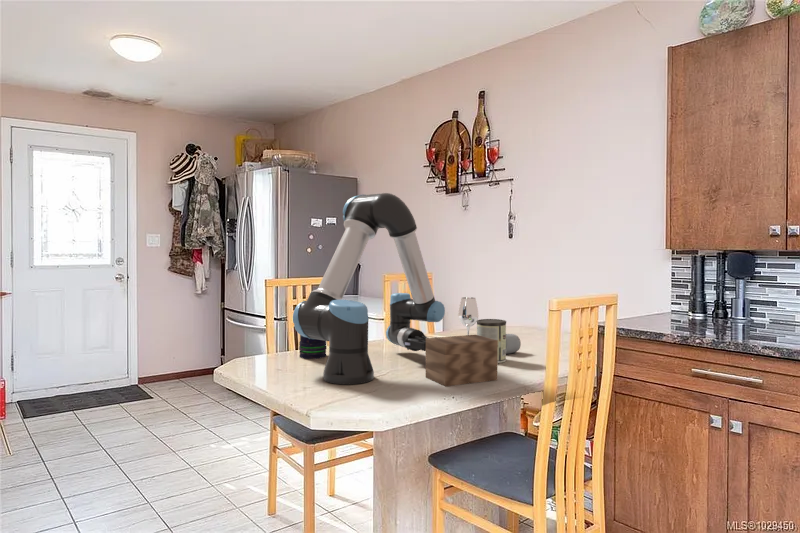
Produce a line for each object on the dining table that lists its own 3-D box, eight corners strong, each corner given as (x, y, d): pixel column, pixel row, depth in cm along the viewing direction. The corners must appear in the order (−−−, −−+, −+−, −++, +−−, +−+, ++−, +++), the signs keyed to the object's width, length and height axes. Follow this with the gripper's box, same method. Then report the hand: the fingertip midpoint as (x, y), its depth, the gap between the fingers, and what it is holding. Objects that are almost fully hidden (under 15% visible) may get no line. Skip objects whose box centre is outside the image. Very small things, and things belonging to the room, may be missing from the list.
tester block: (445, 386, 158) (445, 344, 158) (425, 377, 169) (425, 338, 169) (497, 380, 166) (497, 340, 166) (475, 371, 177) (475, 334, 177)
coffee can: (475, 357, 201) (476, 318, 200) (504, 358, 200) (505, 319, 199) (476, 363, 191) (477, 322, 190) (507, 363, 190) (507, 322, 189)
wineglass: (479, 350, 214) (479, 298, 213) (459, 350, 214) (459, 298, 214) (476, 346, 222) (477, 297, 221) (457, 346, 222) (457, 296, 221)
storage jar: (318, 359, 195) (318, 317, 195) (293, 357, 199) (293, 316, 198) (331, 354, 204) (331, 314, 204) (307, 353, 208) (307, 313, 207)
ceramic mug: (522, 353, 208) (522, 333, 208) (506, 356, 203) (506, 335, 203) (502, 349, 217) (502, 330, 217) (486, 352, 212) (486, 332, 212)
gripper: (427, 348, 201) (462, 360, 180) (395, 350, 195) (426, 363, 174) (427, 327, 201) (462, 337, 179) (395, 329, 195) (427, 340, 174)
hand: (444, 350), depth 177 cm, fingers closed
